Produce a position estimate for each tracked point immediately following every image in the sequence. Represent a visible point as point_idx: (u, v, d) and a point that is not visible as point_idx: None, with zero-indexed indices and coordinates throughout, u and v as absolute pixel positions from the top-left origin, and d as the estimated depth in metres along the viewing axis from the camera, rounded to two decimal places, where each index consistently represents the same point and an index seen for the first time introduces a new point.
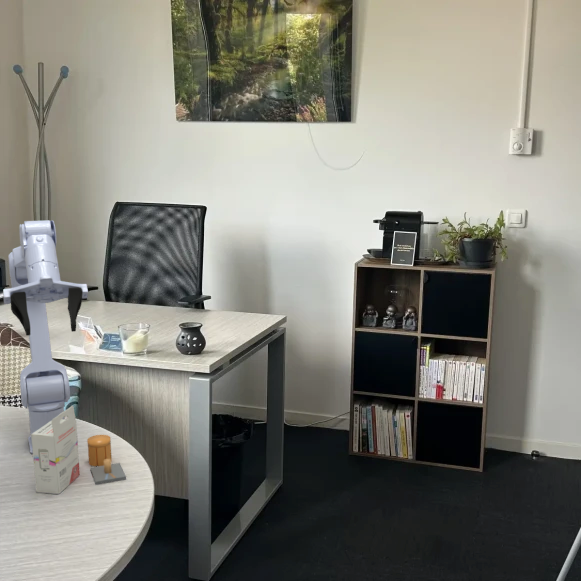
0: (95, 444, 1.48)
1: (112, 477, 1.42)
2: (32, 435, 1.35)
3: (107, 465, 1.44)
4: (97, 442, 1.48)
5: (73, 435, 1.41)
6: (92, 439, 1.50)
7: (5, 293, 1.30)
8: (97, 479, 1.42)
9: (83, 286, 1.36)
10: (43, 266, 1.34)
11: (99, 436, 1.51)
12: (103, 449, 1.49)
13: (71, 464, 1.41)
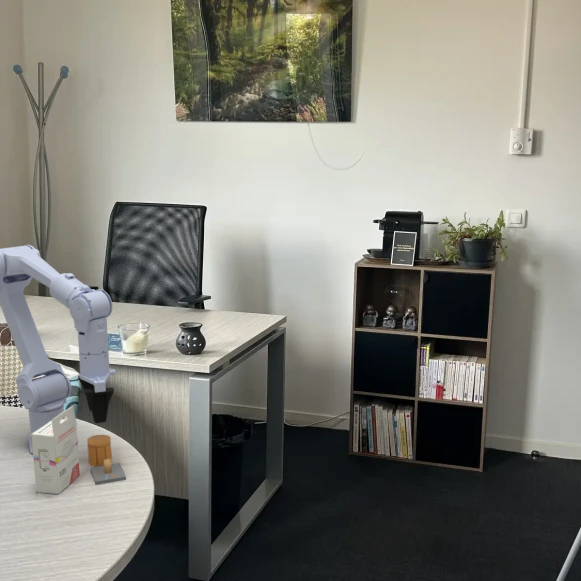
0: (95, 444, 1.48)
1: (112, 477, 1.42)
2: (32, 435, 1.35)
3: (107, 465, 1.44)
4: (97, 442, 1.48)
5: (73, 435, 1.41)
6: (92, 439, 1.50)
7: (105, 386, 1.42)
8: (97, 479, 1.42)
9: None
10: (108, 356, 1.48)
11: (99, 436, 1.51)
12: (103, 449, 1.49)
13: (71, 464, 1.41)
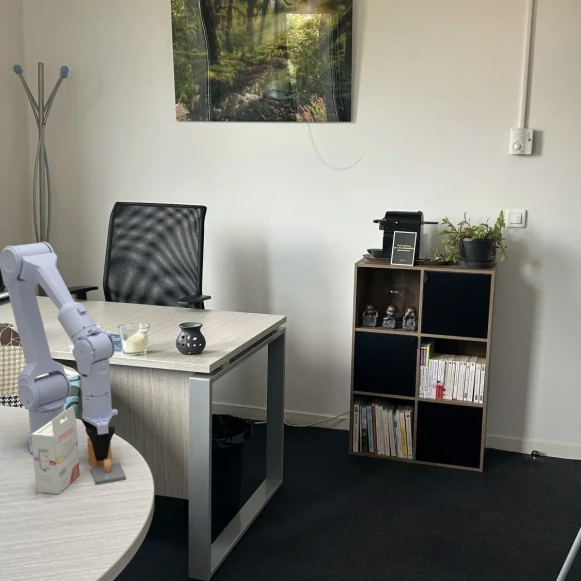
0: None
1: (112, 477, 1.42)
2: (32, 435, 1.35)
3: (107, 465, 1.44)
4: None
5: (73, 435, 1.41)
6: None
7: (108, 428, 1.43)
8: (97, 479, 1.42)
9: None
10: None
11: None
12: None
13: (71, 464, 1.41)
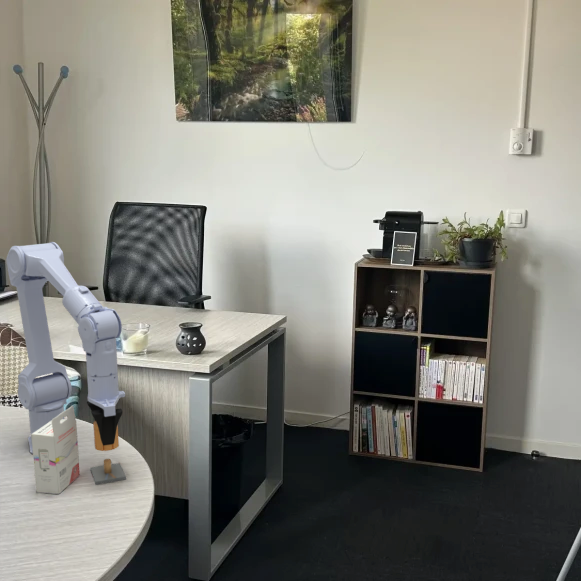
0: None
1: (112, 477, 1.42)
2: (32, 435, 1.35)
3: (107, 465, 1.44)
4: None
5: (73, 435, 1.41)
6: None
7: (115, 410, 1.36)
8: (97, 479, 1.42)
9: None
10: None
11: None
12: None
13: (71, 464, 1.41)
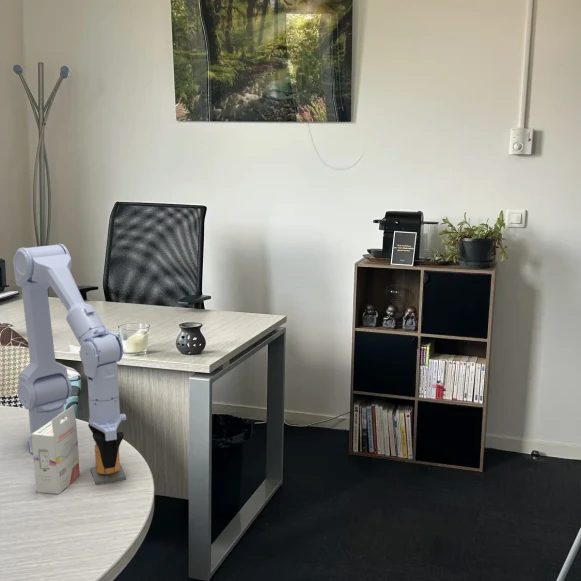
0: None
1: (112, 477, 1.42)
2: (32, 435, 1.35)
3: None
4: None
5: (73, 435, 1.41)
6: None
7: None
8: (97, 479, 1.42)
9: None
10: None
11: None
12: None
13: (71, 464, 1.41)
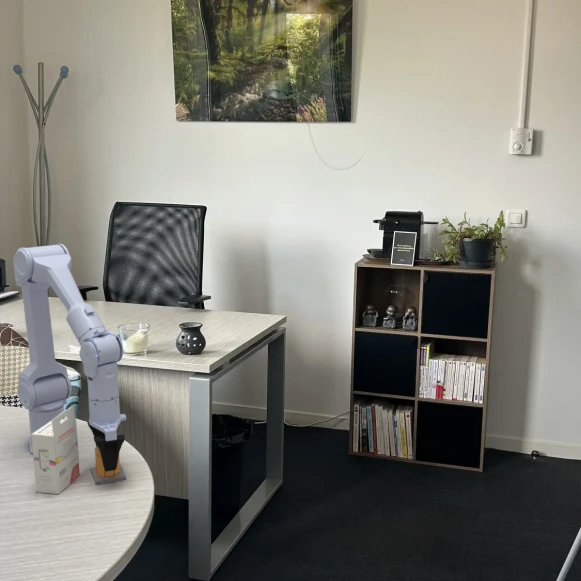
0: None
1: (112, 477, 1.42)
2: (32, 435, 1.35)
3: None
4: None
5: (73, 435, 1.41)
6: None
7: None
8: (97, 479, 1.42)
9: None
10: None
11: None
12: None
13: (71, 464, 1.41)
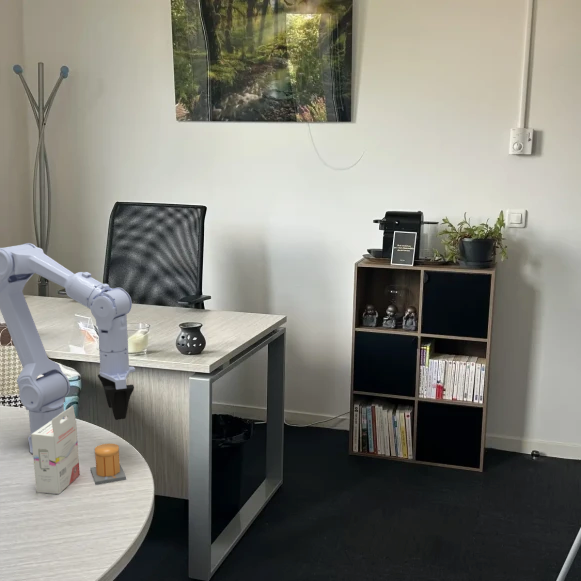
0: (103, 453, 1.42)
1: (112, 477, 1.42)
2: (32, 435, 1.35)
3: None
4: (105, 451, 1.42)
5: (73, 435, 1.41)
6: (100, 448, 1.44)
7: None
8: (97, 479, 1.42)
9: None
10: None
11: (107, 445, 1.45)
12: (111, 458, 1.42)
13: (71, 464, 1.41)
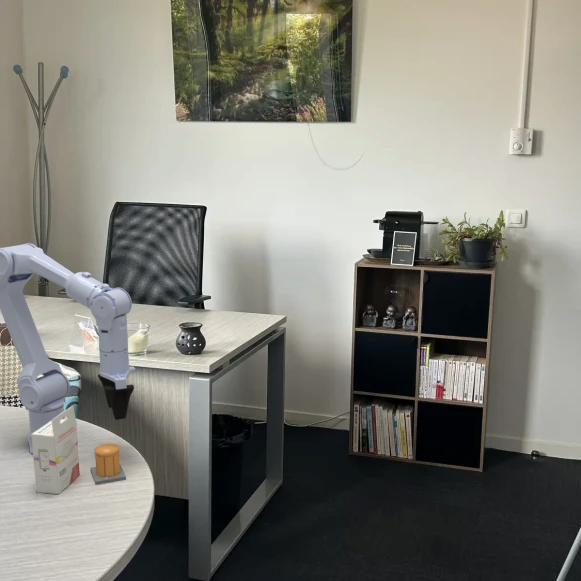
0: (103, 453, 1.42)
1: (112, 477, 1.42)
2: (32, 435, 1.35)
3: None
4: (105, 451, 1.42)
5: (73, 435, 1.41)
6: (100, 448, 1.44)
7: None
8: (97, 479, 1.42)
9: None
10: None
11: (107, 445, 1.45)
12: (111, 458, 1.42)
13: (71, 464, 1.41)
